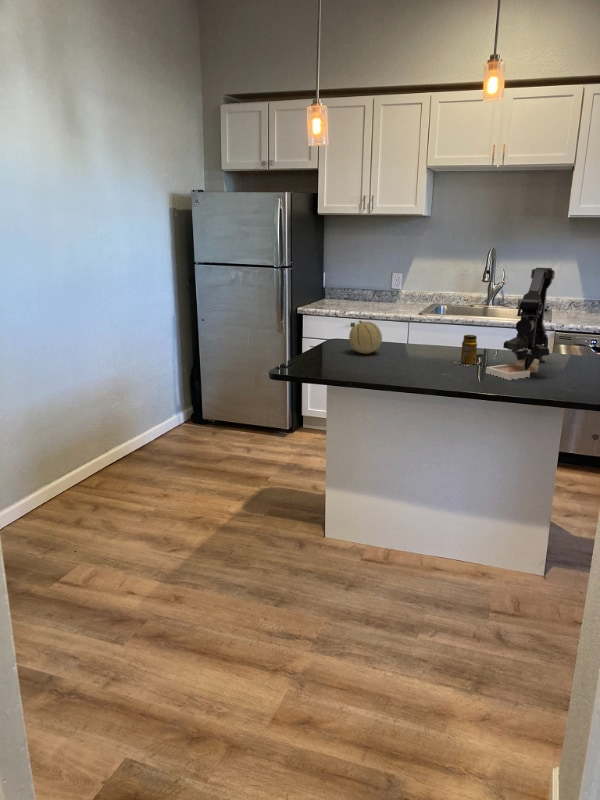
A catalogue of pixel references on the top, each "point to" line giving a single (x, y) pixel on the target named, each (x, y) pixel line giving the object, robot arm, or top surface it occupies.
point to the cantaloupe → (365, 337)
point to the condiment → (468, 350)
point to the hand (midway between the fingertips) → (523, 369)
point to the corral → (509, 376)
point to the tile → (509, 370)
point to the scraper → (521, 365)
